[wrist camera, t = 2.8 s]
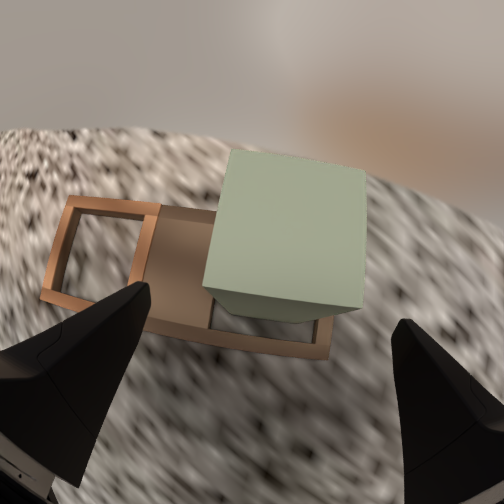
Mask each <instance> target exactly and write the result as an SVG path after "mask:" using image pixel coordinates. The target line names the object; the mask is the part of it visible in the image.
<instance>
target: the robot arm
mask: <svg viewBox="0 0 504 504" xmlns="http://www.w3.org/2000/svg"><path fill="white" fill-rule="evenodd" d="M150 308H151V293H150V286H149V284H148V283H147V282H142V281H136V282H134V283H132V284H130V285H129V286H127V287H125V288H123V289H121V290H119V291H117V292H115V293H113V294H112V295H110V296H108V297H106V298H104V299H102V300H100V301H99V302H97V303H95V304H93V305H91V306H89V307H88V308H86V309H84V310H82V311H80V312H78V313H77V314H75V315H73V316H71V317H69V318H67V319H66V320H64V321H63V322H60V323H58V324H57V325H55V326H53V327H51V328H49V329H47V330H45V331H44V332H42V333H39V334H37V335H35V336H33V337H31V338H29V339H27V340H25V341H22V342H20V343H18V344H16V345H14V346H11V347H9V348H7V349H5V350H2V351H0V504H59V503H58V501H57V499H56V497H55V494H54V492H53V490H52V487H51V486H52V483H53V481H54V478H55V476H56V477H58V478H60V479H61V480H63V481H65V482H67V483H69V484H70V485H72V486H74V487H76V488H79V486H80V484H81V481H82V478H83V475H84V472H85V469H86V467H87V464H88V461H89V458H90V456H91V453H92V450H93V448H94V445H95V442H96V439H97V437H98V434H99V432H100V429H101V427H102V424H103V422H104V419H105V417H106V415H107V412H108V410H109V407H110V405H111V403H112V400H113V398H114V396H115V393H116V391H117V389H118V386H119V384H120V382H121V380H122V377H123V375H124V373H125V371H126V368H127V366H128V364H129V362H130V360H131V358H132V355H133V353H134V351H135V349H136V347H137V345H138V342H139V340H140V337H141V334H142V331H143V328H144V325H145V322H146V319H147V316H148V314H149V311H150ZM391 346H392V359H393V373H394V381H395V387H396V394H397V401H398V409H399V417H400V426H401V436H402V448H403V463H404V504H504V405H503V404H502V403H501V402H500V401H499V400H497V399H496V398H495V397H494V396H493V395H492V394H491V393H490V392H488V391H487V390H486V389H485V388H484V387H483V386H482V385H481V384H480V383H479V382H478V381H477V380H476V379H475V378H474V377H473V376H472V375H470V373H469V372H468V371H467V370H466V369H464V368H463V367H462V366H461V365H460V364H459V363H458V362H457V361H456V360H455V359H454V358H453V357H452V356H451V355H450V354H449V353H448V352H447V351H446V350H445V349H443V348H442V347H441V346H440V345H439V344H438V343H437V342H436V341H435V340H434V339H433V338H432V337H430V336H429V335H428V334H427V333H426V332H425V331H424V330H423V329H422V328H421V327H419V326H418V325H417V324H416V323H415V322H414V321H413V320H411V319H404V318H403V319H401V320H400V321H399V323H398V324H397V326H396V328H395V330H394V332H393V334H392V337H391Z"/></svg>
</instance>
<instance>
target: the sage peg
mask: <svg viewBox="0 0 504 504" xmlns="http://www.w3.org/2000/svg"><path fill="white" fill-rule="evenodd" d="M366 231H367V205H366V172H365V171H364V170H359V169H355V168H350V167H345V166H340V165H335V164H330V163H325V162H320V161H314V160H309V159H303V158H297V157H291V156H284V155H278V154H271V153H263V152H255V151H247V150H239V149H231V152H230V156H229V160H228V165H227V169H226V173H225V178H224V182H223V186H222V191H221V195H220V200H219V204H218V209H217V214H216V218H215V223H214V228H213V233H212V238H211V243H210V247H209V252H208V258H207V263H206V268H205V273H204V278H203V284H202V286H203V287H204V288H205V289H206V290H207V291H208V292H209V293H210V294H211V295H212V296H213V297H214V298H215V299H216V300H217V301H218V302H219V303H220V304H221V305H222V306H223V307H224V308H225V309H226V310H227V311H228V312H229V313H230V314H232V315H239V316H245V317H252V318H258V319H265V320H272V321H280V322H287V323H295V324H297V323H302V322H307V321H311V320H316V319H320V318H325V317H329V316H333V315H338V314H342V313H346V312H350V311H354V310H358V309H362V308H363V297H364V283H365V265H366Z"/></svg>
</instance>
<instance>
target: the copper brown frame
mask: <svg viewBox="0 0 504 504" xmlns="http://www.w3.org/2000/svg"><path fill="white" fill-rule="evenodd" d="M81 213H84V214H92V215H101V216H109V217H117V218H125V219H133V220H141V221H143V225H142V228H141V232H140V236H139V239H138V243H137V247H136V251H135V255H134V259H133V263H132V268H131V272H130V276H129V281H128V286H129V285H130V284H132V283H134V282H136V281H142V282H147V283H148V284H149V286H150V293H151V308H150V311H149V314H148V316H147V319H146V322H145V325H144V328H143V330H144V331H148V332H152V333H156V334H160V335H165V336H169V337H174V338H178V339H183V340H188V341H193V342H198V343H203V344H208V345H214V346H219V347H225V348H231V349H237V350H243V351H250V352H257V353H264V354H271V355H279V356H288V357H297V358H306V359H317V360H328V358H329V351H330V344H331V336H332V329H333V320H334V315H333V316H329V317H325V318H320V319H316V320H315V323H314V331H313V338H312V344H311V343H302V342H293V341H285V340H277V339H270V338H262V337H255V336H249V335H242V334H236V333H230V332H224V331H218V330H212V329H210V326H211V320H212V314H213V308H214V302H215V298H214V297H213V296H212V295H211V294H210V293H209V292H208V291H207V290H206V289H205V288H204V287H203V286H202V284H203V278H204V273H205V268H206V263H207V258H208V252H209V247H210V243H211V238H212V233H213V228H214V223H215V218H216V214H217V211H209V210H201V209H193V208H185V207H176V206H168V205H162V204H160V203H150V202H141V201H131V200H121V199H110V198H99V197H87V196H74V195H69V197H68V200H67V202H66V205H65V208H64V211H63V214H62V217H61V220H60V223H59V226H58V229H57V232H56V236H55V239H54V242H53V246H52V249H51V253H50V257H49V261H48V265H47V269H46V273H45V277H44V282H43V287H42V291H41V296H40V299H41V300H44V301H47V302H50V303H52V304H55V305H58V306H61V307H64V308H67V309H70V310H73V311H76V312H80V311H82V310H84V309H86V308H88V307H89V306H91V305H93V304H95V303H94V302H90V301H87V300H83V299H80V298H76V297H73V296H70V295H66V294H63V293H60V291H61V286H62V282H63V277H64V273H65V269H66V265H67V261H68V257H69V253H70V249H71V246H72V242H73V239H74V235H75V232H76V229H77V225H78V222H79V219H80V216H81Z"/></svg>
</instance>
